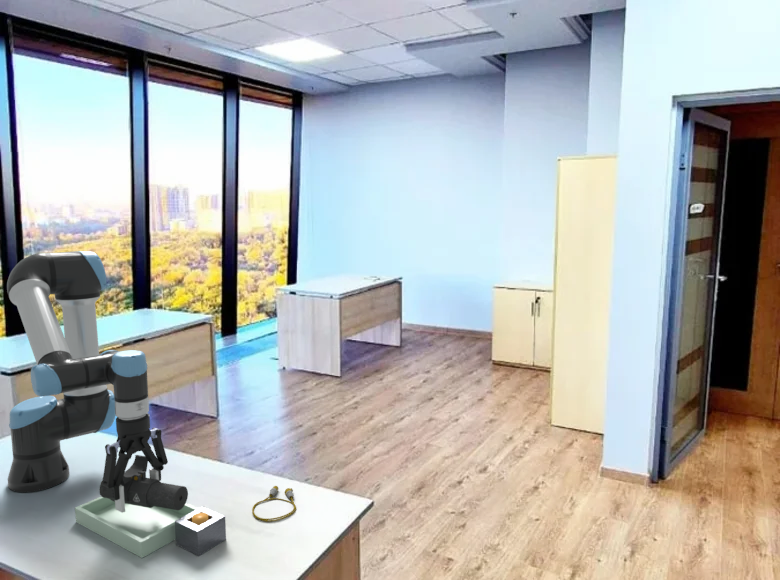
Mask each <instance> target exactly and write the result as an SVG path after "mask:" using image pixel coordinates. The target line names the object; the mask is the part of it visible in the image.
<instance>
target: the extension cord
mask: <svg viewBox="0 0 780 580" xmlns="http://www.w3.org/2000/svg"><path fill="white" fill-rule="evenodd" d="M278 491H279V486H278V485H274V486H273V487H272V488H271V489H270V490H269V494H268V496H267V497H266V498H265V499H263V500H261V501H258V502H256V503H254V505H252V509H251V511H252V512H251V513H252V516H253V517H254V518H255V519H257V520H258V521H262V522H271V523H272V522H278V521H280V520H284V519H286V518H288V517H290V516H292V515H294V514H295V512H296V511H297V505H296V504H295V501H294V494H295V493H294V492H293V491H294V489H293V488H290V487H289V488H285V491H284V495H285V496H286V498H287V499H288V500H286V499H283V498H279V497H274V496H276V495H277V493H278ZM271 500H272V501H273V500H278V501H283V502H287V503H289V504H291V505H293V510H291V511H290V512H288V513H286V514H283V515H280V516H277V517H272V518H264V517H259V516H258V515H256V514H255V509H256V506H258V505H260V504H261V503H263V502H268V501H271Z"/></svg>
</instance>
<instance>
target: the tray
mask: <svg viewBox="0 0 780 580" xmlns="http://www.w3.org/2000/svg"><path fill="white" fill-rule="evenodd" d="M199 508H200V507H197V506H195V505H193V504H190V503H189V502H188V503H187V502H186V504H185V505H184V507H183V508H182V509H181V510H173V509H167V508H162V507H156V506H154V507H152V508H148V507H142V506H137V505H131V504H125V512H123V513H122V512H120V511H118V510H116V508H115V502H114V501H112V500H110V499H108V498H103V497H102V496H101V495H100V496H99V497H97V498H95V499H92V500H89V501H87V502H85V503H83V504H80V505H78V506H76V507H74V514H75V523H77V524H79V525H80V526H82V527H85V528H86V529H88V530H90V531H91V532H93V533H95V534H97V535H99V536H101V537H102V538H104V539H106V540H108V541H110V542H112V543H114V544H115V545H117V546H119V547H121V548H123V549H124V550H126V551H128V552H130V553H132V554H134V555H135V556H138V557H140V558H141V559H143V558H144V557H146V556H148V555H150V554H152V553H154V552H155V551H157V550H159V549H161V548H162V547H164V546H166V545H169V544H170V543H171V542H173V541H176V536H175V521H176V520H178V519H180V518H181V517H183V516H185V515H187V514H189V513H191V512H193V511H195V510H197V509H199Z"/></svg>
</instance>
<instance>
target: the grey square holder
mask: <svg viewBox="0 0 780 580" xmlns="http://www.w3.org/2000/svg"><path fill="white" fill-rule="evenodd" d="M198 508H199V509H197V510H195V511H193V512H191V513H189V514H187V515H185V516H183V517H181V518H180V519H178V520H176V521H175V536H176V539H175V545H176V547H177V546H178V547H180V548H181V549H183V550H185V551H188V552H189V553H191V554H194V555H196V556H197V557H199V556H201V555H203V554H204V553H207V552H208V551H209V550H211V549H214V548H215V547H217V546H218V545H219V544H222V543H223V542H224V541H226V540H227V533H226V532H227V527H226V525H227V523H226V515H224V514H221V513H219V512H217V511H214V510H212V509H210V508H207V507H205V506H201V507H198ZM197 513H207V514H208V521H206V522H204V523H203V524H201V525H199V526H198V525H196V524H194V523H192V516H193V515H195V514H197Z"/></svg>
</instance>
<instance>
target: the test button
mask: <svg viewBox="0 0 780 580" xmlns="http://www.w3.org/2000/svg"><path fill="white" fill-rule="evenodd" d="M206 521H208V514H207V513H197V514H195V515H193V516H192V523H194V524H196V525H198V526H199V525H201V524H203V523H204V522H206Z"/></svg>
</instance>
